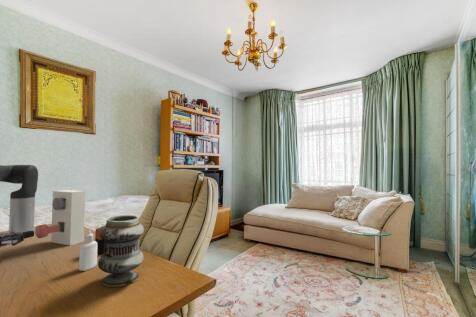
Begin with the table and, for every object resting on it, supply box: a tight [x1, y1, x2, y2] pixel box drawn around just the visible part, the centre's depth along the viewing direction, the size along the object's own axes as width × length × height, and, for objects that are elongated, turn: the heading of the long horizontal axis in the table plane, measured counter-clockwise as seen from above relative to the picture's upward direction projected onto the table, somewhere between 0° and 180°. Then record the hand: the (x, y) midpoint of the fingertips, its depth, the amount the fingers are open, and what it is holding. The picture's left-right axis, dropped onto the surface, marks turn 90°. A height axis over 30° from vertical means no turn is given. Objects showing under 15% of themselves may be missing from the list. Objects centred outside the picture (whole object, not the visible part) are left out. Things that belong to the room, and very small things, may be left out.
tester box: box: [50, 189, 86, 246], centre depth 107 cm, size 6×12×22 cm, turn 69°
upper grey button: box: [52, 198, 65, 210], centre depth 106 cm, size 7×5×5 cm
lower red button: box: [34, 224, 60, 239], centre depth 100 cm, size 7×5×5 cm
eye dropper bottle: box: [78, 230, 98, 272], centre depth 80 cm, size 4×6×12 cm
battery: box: [94, 225, 105, 256], centre depth 95 cm, size 4×7×10 cm, turn 138°
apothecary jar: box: [97, 214, 145, 288], centre depth 72 cm, size 12×12×18 cm
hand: (32, 233), depth 95 cm, fingers closed
